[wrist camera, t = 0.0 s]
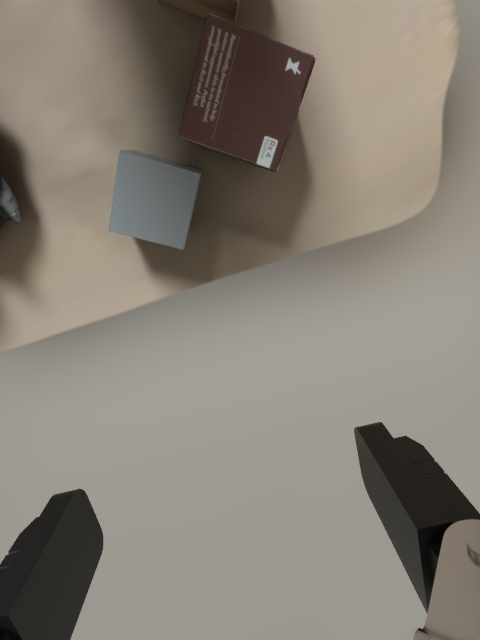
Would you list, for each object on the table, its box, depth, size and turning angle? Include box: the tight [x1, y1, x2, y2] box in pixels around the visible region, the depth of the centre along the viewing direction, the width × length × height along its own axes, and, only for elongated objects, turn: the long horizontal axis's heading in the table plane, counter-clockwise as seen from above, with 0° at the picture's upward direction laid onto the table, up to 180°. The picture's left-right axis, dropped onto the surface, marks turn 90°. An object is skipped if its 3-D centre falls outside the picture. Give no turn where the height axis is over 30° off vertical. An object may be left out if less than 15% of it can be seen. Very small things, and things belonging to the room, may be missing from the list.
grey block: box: [109, 151, 202, 250], centre depth 27 cm, size 5×5×5 cm
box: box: [179, 13, 315, 172], centre depth 23 cm, size 6×6×7 cm
